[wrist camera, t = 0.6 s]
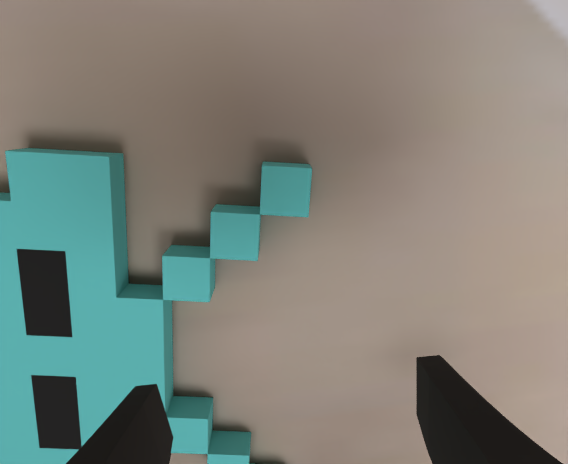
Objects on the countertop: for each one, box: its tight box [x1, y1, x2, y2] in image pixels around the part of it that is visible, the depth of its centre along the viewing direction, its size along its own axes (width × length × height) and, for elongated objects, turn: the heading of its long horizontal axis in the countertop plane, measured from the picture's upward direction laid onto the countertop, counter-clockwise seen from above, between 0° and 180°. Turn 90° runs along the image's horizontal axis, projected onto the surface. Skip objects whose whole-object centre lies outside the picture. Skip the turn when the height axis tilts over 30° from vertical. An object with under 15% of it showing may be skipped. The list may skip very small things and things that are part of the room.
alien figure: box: [0, 148, 312, 464], centre depth 22 cm, size 20×2×20 cm
